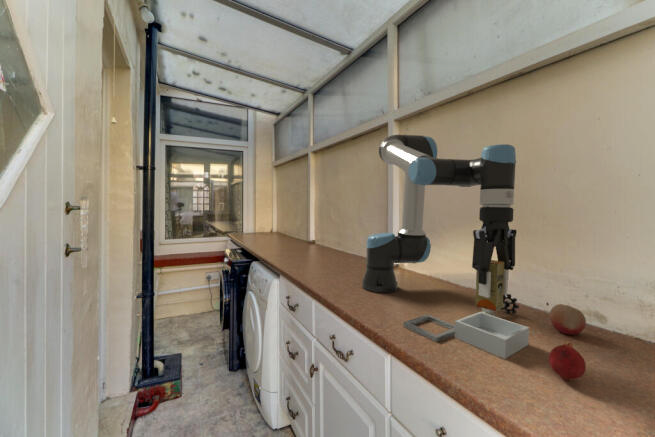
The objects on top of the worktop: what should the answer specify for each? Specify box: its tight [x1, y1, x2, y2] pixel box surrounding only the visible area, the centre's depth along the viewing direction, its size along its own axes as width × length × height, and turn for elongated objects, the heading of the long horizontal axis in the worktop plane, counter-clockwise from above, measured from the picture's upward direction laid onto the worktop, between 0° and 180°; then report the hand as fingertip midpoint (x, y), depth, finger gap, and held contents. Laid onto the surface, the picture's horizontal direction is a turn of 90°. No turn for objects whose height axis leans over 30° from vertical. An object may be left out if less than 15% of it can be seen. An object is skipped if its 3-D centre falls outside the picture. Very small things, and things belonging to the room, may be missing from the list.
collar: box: [402, 313, 455, 343], centre depth 82 cm, size 11×11×1 cm
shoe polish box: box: [475, 259, 504, 312], centre depth 75 cm, size 5×5×12 cm
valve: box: [480, 293, 520, 317], centre depth 92 cm, size 7×7×12 cm
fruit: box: [548, 303, 587, 336], centre depth 80 cm, size 8×8×8 cm
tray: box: [454, 311, 530, 360], centre depth 75 cm, size 13×13×5 cm
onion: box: [548, 341, 587, 382], centre depth 58 cm, size 6×6×8 cm
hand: (492, 294), depth 74 cm, fingers closed on shoe polish box, 6 cm apart
